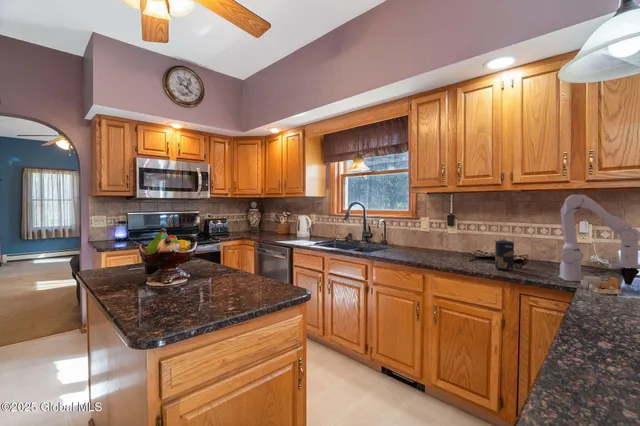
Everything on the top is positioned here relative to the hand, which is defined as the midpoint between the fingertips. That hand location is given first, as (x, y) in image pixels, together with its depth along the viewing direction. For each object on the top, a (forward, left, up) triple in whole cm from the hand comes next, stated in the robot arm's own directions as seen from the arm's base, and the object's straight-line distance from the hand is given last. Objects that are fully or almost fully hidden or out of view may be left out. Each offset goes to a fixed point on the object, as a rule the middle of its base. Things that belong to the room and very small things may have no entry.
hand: (628, 284), depth 142 cm
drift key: (0, -9, -2) cm, 9 cm away
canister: (-33, -41, -3) cm, 53 cm away
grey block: (0, -14, -2) cm, 14 cm away
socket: (0, -15, -2) cm, 15 cm away
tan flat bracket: (+8, -13, -2) cm, 16 cm away
